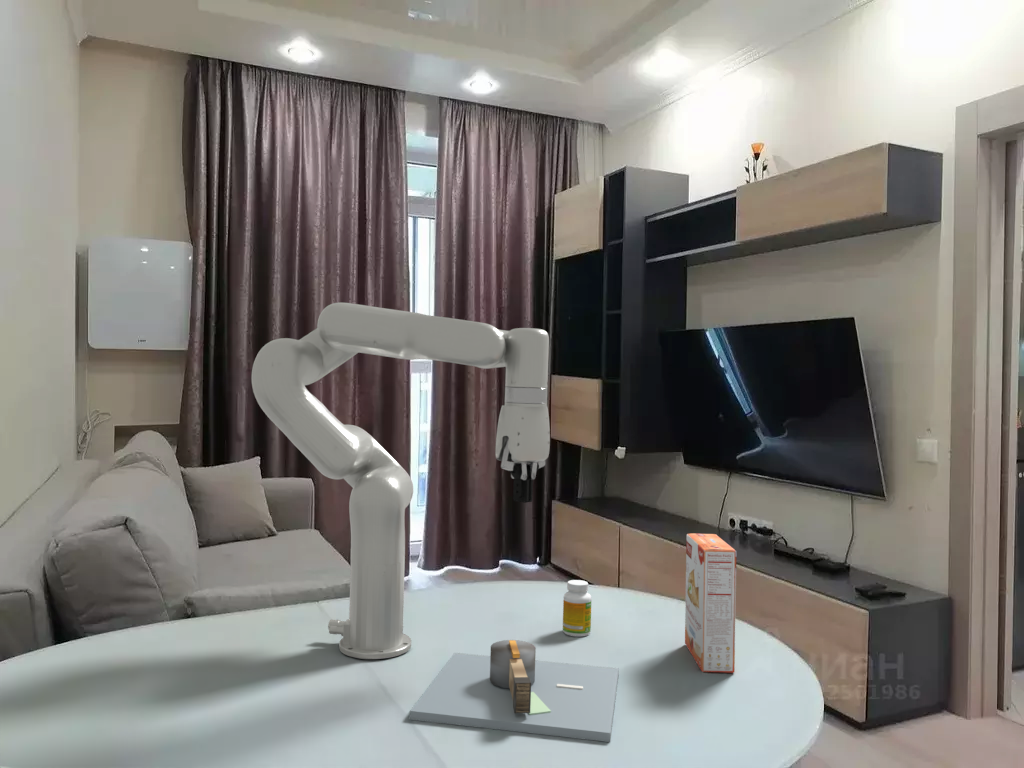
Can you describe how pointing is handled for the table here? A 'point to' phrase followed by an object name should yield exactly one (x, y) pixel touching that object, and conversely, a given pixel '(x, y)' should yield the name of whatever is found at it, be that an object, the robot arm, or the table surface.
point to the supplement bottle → (577, 609)
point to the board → (554, 699)
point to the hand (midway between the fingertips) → (522, 501)
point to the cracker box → (710, 602)
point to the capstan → (514, 670)
